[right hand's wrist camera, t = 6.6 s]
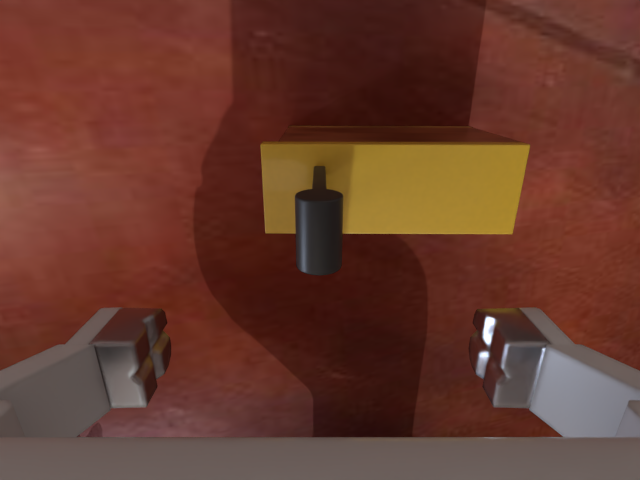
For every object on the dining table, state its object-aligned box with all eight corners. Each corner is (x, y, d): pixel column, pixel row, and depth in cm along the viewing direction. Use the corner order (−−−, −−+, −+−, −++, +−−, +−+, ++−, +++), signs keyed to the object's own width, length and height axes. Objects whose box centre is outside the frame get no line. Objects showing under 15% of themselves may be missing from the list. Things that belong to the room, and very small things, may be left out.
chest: (291, 191, 35) (280, 228, 26) (289, 125, 32) (277, 141, 24) (459, 192, 34) (505, 228, 26) (468, 126, 32) (522, 141, 24)
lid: (267, 228, 26) (241, 298, 17) (262, 141, 24) (230, 173, 15) (505, 229, 26) (594, 299, 17) (522, 142, 24) (633, 174, 15)
